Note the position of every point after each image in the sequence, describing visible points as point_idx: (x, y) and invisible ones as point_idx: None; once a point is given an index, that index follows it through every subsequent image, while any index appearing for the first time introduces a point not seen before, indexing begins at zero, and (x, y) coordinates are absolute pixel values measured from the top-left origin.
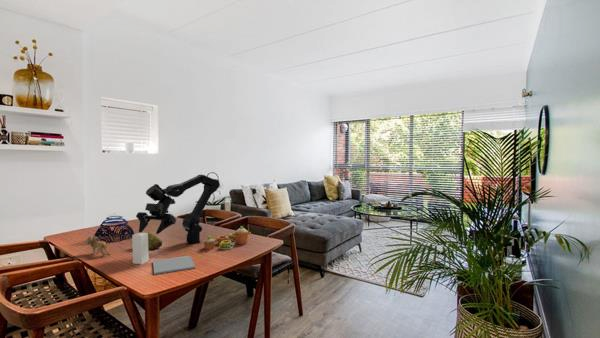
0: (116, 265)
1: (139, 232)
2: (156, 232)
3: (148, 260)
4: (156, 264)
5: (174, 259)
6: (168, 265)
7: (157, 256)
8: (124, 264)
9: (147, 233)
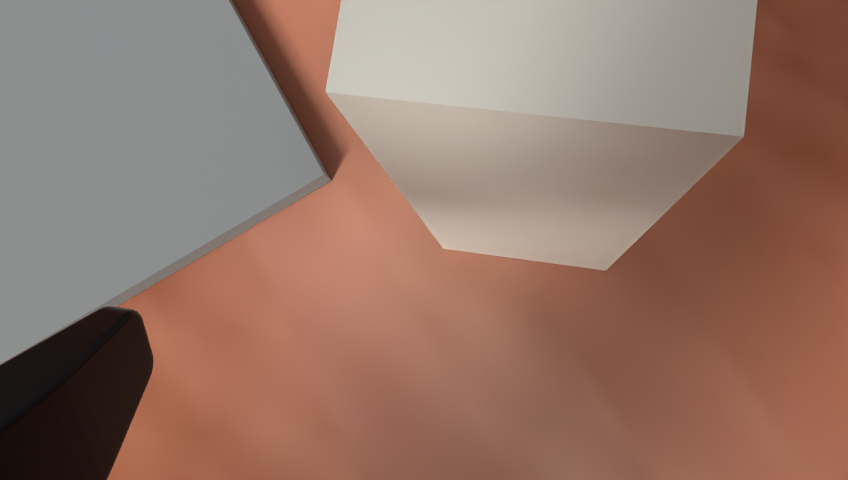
0: (831, 7)
1: (738, 130)
2: (110, 320)
3: (443, 248)
4: (195, 23)
5: (22, 249)
6: (17, 6)
7: (401, 465)
8: None
9: (337, 66)
